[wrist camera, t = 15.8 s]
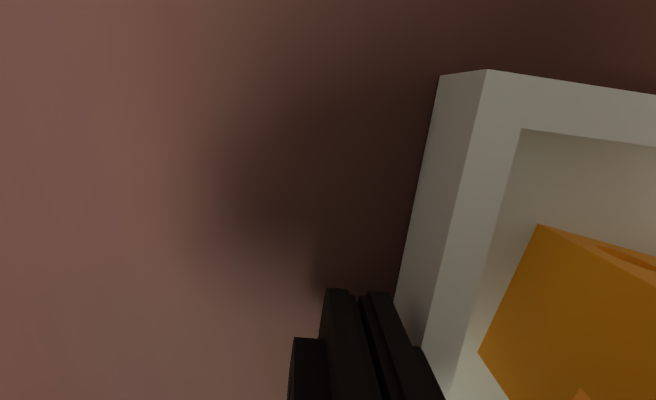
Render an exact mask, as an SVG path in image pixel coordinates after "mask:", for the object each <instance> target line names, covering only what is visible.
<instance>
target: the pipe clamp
mask: <svg viewBox="0 0 656 400" xmlns="http://www.w3.org/2000/svg"><path fill="white" fill-rule="evenodd" d="M477 353H478V354H479V356H480V357H481V359H482V360H483V362H484V363H485V365H486V366H487V368H488V369H489V371H490V372H491V374H492V375H493V377H494V378H495V379H496V381H497V382H498V384H499V385H500V387H501V388H502V390H503V391H504V393H505V394H506V396H507V397H508V399H509V400H656V257H655V256H652V255H648V254H644V253H641V252H637V251H634V250H630V249H627V248H623V247H620V246H616V245H613V244H609V243H606V242H602V241H599V240H595V239H592V238H588V237H585V236H581V235H578V234H574V233H570V232H567V231H563V230H560V229H556V228H553V227H549V226H546V225H542V224H539V223H538V224H537V226H536V228H535V230H534V232H533V234H532V237H531V239H530V241H529V243H528V245H527V247H526V249H525V251H524V254H523V256H522V258H521V260H520V262H519V264H518V266H517V268H516V271H515V273H514V275H513V277H512V279H511V281H510V283H509V285H508V288H507V290H506V292H505V294H504V296H503V298H502V300H501V302H500V304H499V307H498V309H497V311H496V313H495V315H494V317H493V319H492V321H491V324H490V326H489V328H488V330H487V332H486V334H485V336H484V338H483V341H482V343H481V345H480V347H479V349H478V351H477Z"/></svg>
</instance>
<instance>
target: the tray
mask: <svg viewBox="0 0 656 400" xmlns="http://www.w3.org/2000/svg"><path fill="white" fill-rule="evenodd" d="M538 223H539V224H542V225H546V226H549V227H553V228H556V229H560V230H563V231H567V232H570V233H574V234H578V235H581V236H585V237H588V238H592V239H595V240H599V241H602V242H606V243H609V244H613V245H616V246H620V247H623V248H627V249H630V250H634V251H637V252H641V253H644V254H648V255H652V256H655V257H656V95H653V94H646V93H640V92H633V91H627V90H620V89H614V88H608V87H601V86H595V85H588V84H582V83H575V82H569V81H562V80H556V79H549V78H543V77H537V76H530V75H524V74H517V73H511V72H504V71H498V70H491V69H483V70H476V71H469V72H461V73H454V74H447V75H440V78H439V83H438V88H437V92H436V97H435V102H434V107H433V112H432V117H431V122H430V126H429V131H428V136H427V141H426V146H425V151H424V156H423V160H422V165H421V170H420V175H419V180H418V185H417V190H416V194H415V199H414V204H413V209H412V214H411V219H410V224H409V228H408V233H407V238H406V243H405V248H404V253H403V258H402V262H401V267H400V272H399V277H398V282H397V287H396V292H395V296H394V301H393V303H394V305H395V308H396V310H397V312H398V314H399V317H400V319H401V321H402V324H403V326H404V328H405V331H406V333H407V335H408V337H409V340H410V342H411V344H412V346H419V347H420V348H421V349H422V350H423V352H424V354H425V356H426V358H427V360H428V363H429V365H430V367H431V369H432V371H433V373H434V375H435V377H436V380H437V382H438V384H439V386H440V388H441V390H442V392H443V394H444V397H445V399H446V400H509V399H508V397H507V396H506V394H505V393H504V391H503V390H502V388H501V387H500V385H499V384H498V382H497V381H496V379H495V378H494V377H493V375H492V374H491V372H490V371H489V369H488V368H487V366H486V365H485V363H484V362H483V360H482V359H481V357H480V356H479V354H478V353H477V351H478V349H479V347H480V345H481V343H482V341H483V338H484V336H485V334H486V332H487V330H488V328H489V326H490V324H491V321H492V319H493V317H494V315H495V313H496V311H497V309H498V307H499V304H500V302H501V300H502V298H503V296H504V294H505V292H506V290H507V288H508V285H509V283H510V281H511V279H512V277H513V275H514V273H515V271H516V268H517V266H518V264H519V262H520V260H521V258H522V256H523V254H524V251H525V249H526V247H527V245H528V243H529V241H530V239H531V237H532V234H533V232H534V230H535V228H536V226H537V224H538Z"/></svg>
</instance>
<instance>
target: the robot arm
mask: <svg viewBox="0 0 656 400" xmlns="http://www.w3.org/2000/svg"><path fill="white" fill-rule="evenodd" d="M287 400H446V399H445V397H444V394H443V392H442V390H441V388H440V386H439V384H438V382H437V380H436V377H435V375H434V373H433V371H432V369H431V367H430V365H429V363H428V360H427V358H426V356H425V354H424V352H423V350H422V349H421V348H420V347H419V346H412V344H411V342H410V340H409V337H408V335H407V333H406V331H405V328H404V326H403V324H402V321H401V319H400V317H399V314H398V312H397V310H396V308H395V305H394V303H393V301H392V298H391V296H390V294H389V293H383V292H371V291H368V292H367V294H366V297H365V296H360V297H359V299H358V304H357V301H356V297H355V296H354V295H349V293H348V290H347V289H337V288H326V291H325V297H324V303H323V310H322V316H321V323H320V329H319V336H318V339H314V338H300V337H294V340H293V347H292V354H291V362H290V370H289V381H288V393H287Z"/></svg>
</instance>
